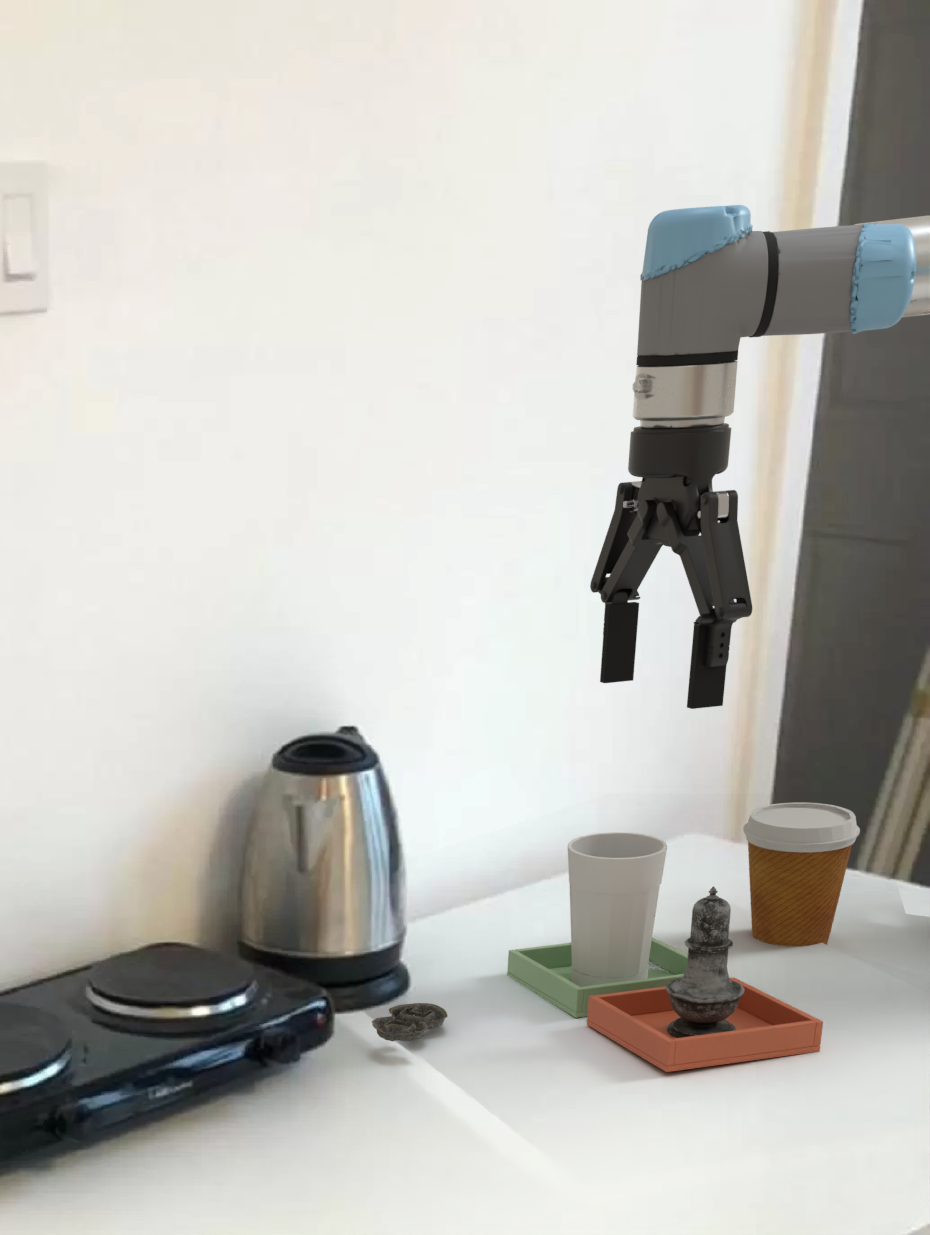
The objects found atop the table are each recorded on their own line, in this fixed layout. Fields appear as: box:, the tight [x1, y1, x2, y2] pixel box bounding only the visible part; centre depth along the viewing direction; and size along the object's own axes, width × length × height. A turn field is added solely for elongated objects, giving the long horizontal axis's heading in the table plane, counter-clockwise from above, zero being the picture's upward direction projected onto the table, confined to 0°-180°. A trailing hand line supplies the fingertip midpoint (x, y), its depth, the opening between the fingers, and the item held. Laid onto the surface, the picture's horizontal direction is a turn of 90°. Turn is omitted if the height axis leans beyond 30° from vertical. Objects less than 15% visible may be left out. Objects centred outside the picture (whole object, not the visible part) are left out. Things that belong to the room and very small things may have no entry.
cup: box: [567, 831, 668, 987], centre depth 174 cm, size 8×8×12 cm
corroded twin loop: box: [371, 1002, 448, 1043], centre depth 169 cm, size 5×8×1 cm, turn 141°
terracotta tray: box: [586, 977, 824, 1073], centre depth 163 cm, size 13×12×2 cm
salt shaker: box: [666, 886, 745, 1038], centre depth 161 cm, size 6×6×12 cm
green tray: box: [506, 936, 688, 1019], centre depth 176 cm, size 13×12×2 cm
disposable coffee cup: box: [742, 801, 861, 947], centre depth 182 cm, size 10×10×12 cm
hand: (659, 694), depth 169 cm, fingers open, 13 cm apart
